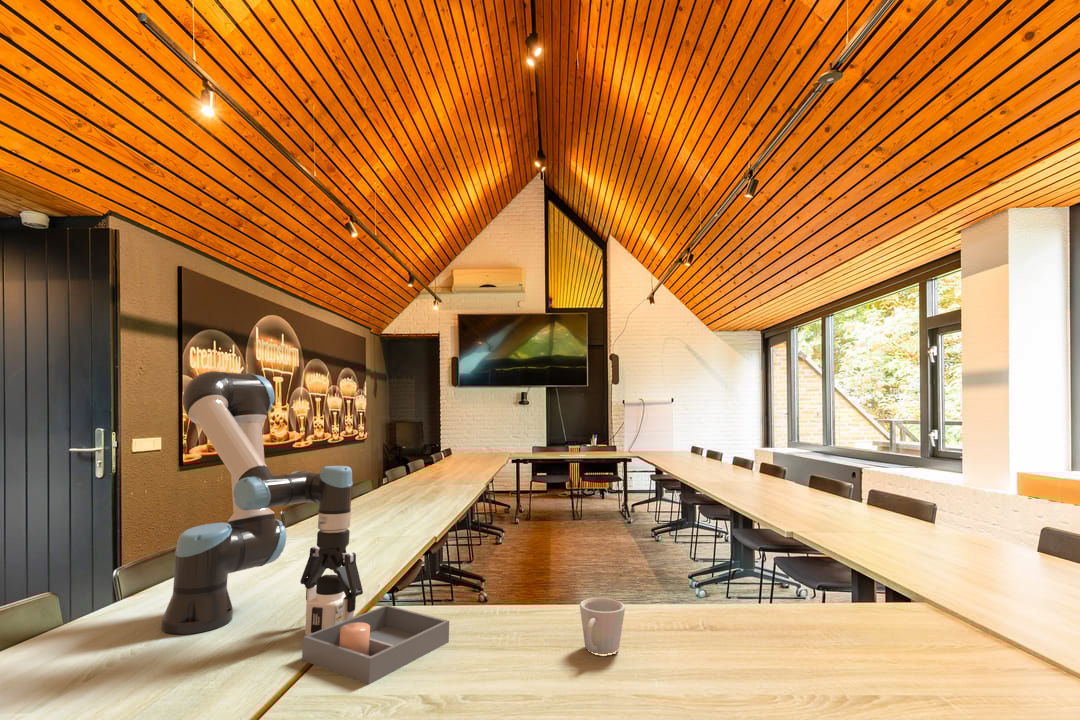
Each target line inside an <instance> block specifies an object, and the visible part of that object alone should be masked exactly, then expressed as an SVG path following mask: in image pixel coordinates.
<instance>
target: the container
mask: <svg viewBox="0 0 1080 720" xmlns="http://www.w3.org/2000/svg"><path fill="white" fill-rule="evenodd" d="M344 597H346V595H345V593H344V590H343V588H342V586H341V583H340V581H339V578H338V576H337V574H336V573H329V574H323V575H322V576H321V577H319V578H318V579H317V585H316V598H314V599H312V600H310V601H309V602H307V601H306V604H307V611H306V610H305V628H304V629H305V631H304V633H305V634H304V636H306V635H309V634H312V633H314V632H317V631H319V630H322V629H325V628H327V627H330V626H332V625H335V624H338V623H340V622H342V614H343V598H344Z"/></svg>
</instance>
